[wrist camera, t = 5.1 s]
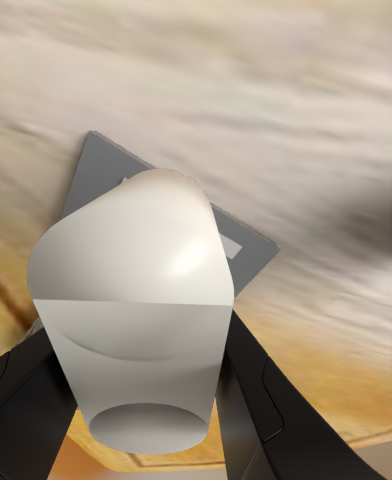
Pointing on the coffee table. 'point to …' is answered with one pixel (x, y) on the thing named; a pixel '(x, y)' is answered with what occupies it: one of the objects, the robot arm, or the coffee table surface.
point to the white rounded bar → (138, 310)
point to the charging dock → (128, 165)
